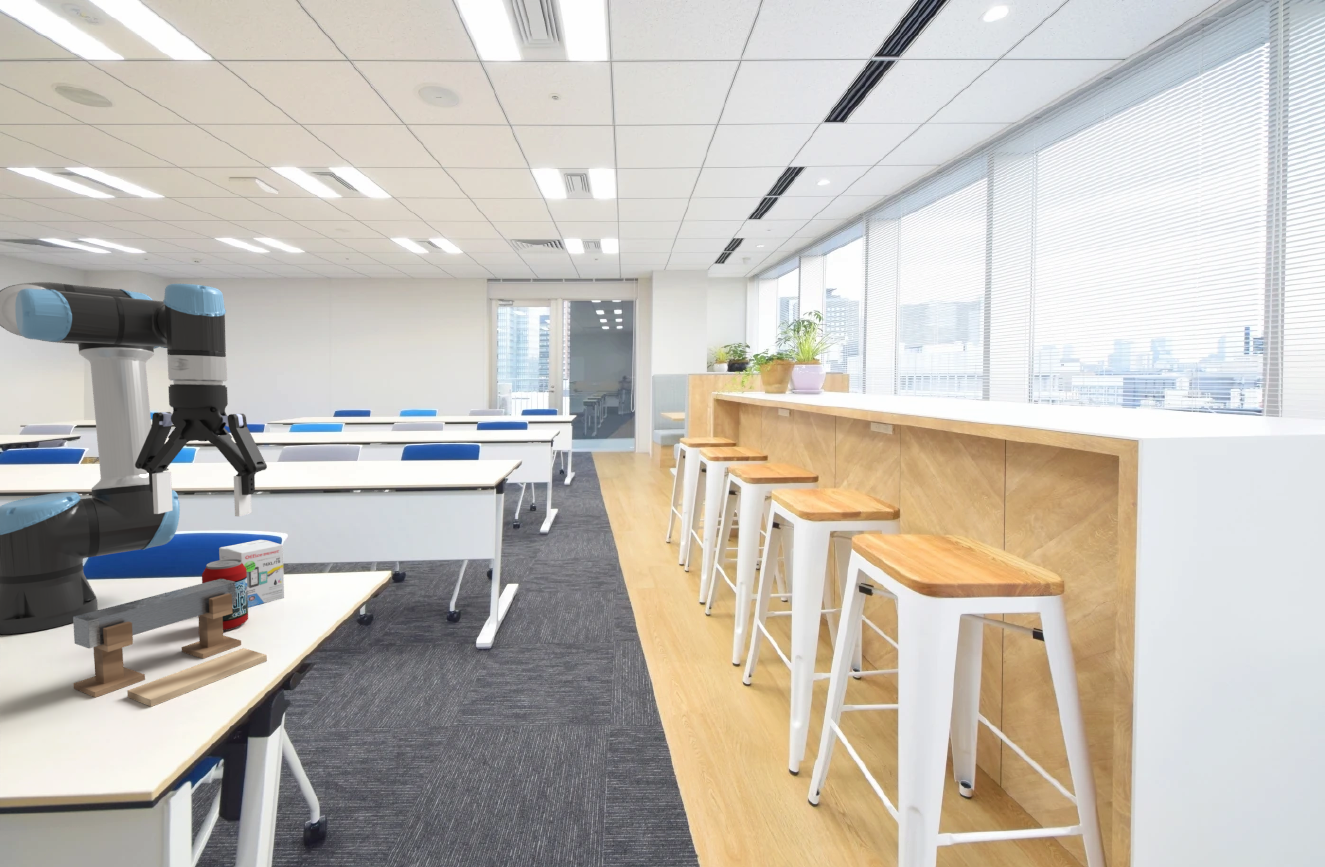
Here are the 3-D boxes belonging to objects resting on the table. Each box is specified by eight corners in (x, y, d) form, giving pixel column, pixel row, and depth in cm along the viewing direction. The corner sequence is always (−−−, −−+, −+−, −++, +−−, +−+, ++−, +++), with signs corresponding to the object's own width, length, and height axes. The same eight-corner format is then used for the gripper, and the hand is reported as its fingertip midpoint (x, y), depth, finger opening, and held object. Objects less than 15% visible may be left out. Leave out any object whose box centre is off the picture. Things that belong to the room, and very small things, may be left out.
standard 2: (179, 651, 102) (177, 596, 101) (218, 638, 108) (216, 585, 107) (204, 659, 99) (202, 602, 99) (243, 645, 105) (241, 591, 104)
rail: (74, 643, 88) (73, 616, 88) (221, 600, 106) (221, 578, 106) (88, 648, 87) (87, 621, 86) (236, 604, 105) (235, 581, 105)
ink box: (241, 610, 121) (239, 552, 121) (219, 602, 126) (217, 546, 125) (285, 597, 129) (283, 543, 128) (263, 590, 133) (261, 538, 132)
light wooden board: (127, 697, 87) (127, 690, 87) (243, 653, 101) (243, 647, 101) (151, 706, 84) (150, 699, 84) (266, 660, 99) (266, 654, 99)
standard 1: (71, 687, 89) (68, 625, 89) (121, 671, 95) (118, 611, 94) (97, 698, 87) (93, 633, 86) (146, 680, 92) (143, 619, 91)
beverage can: (225, 634, 109) (222, 569, 108) (194, 631, 110) (191, 566, 110) (257, 621, 116) (255, 559, 115) (227, 618, 117) (225, 556, 116)
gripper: (101, 381, 94) (108, 515, 96) (256, 384, 93) (260, 520, 95) (145, 381, 102) (150, 506, 104) (288, 384, 101) (292, 511, 102)
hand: (203, 513), depth 99 cm, fingers open, 13 cm apart
